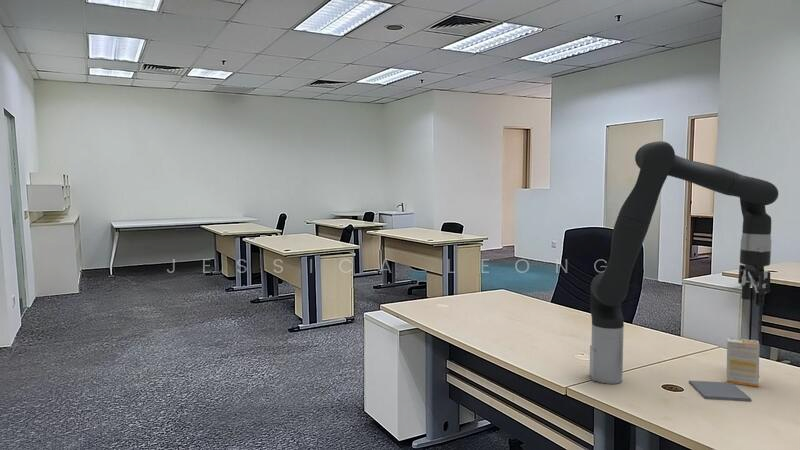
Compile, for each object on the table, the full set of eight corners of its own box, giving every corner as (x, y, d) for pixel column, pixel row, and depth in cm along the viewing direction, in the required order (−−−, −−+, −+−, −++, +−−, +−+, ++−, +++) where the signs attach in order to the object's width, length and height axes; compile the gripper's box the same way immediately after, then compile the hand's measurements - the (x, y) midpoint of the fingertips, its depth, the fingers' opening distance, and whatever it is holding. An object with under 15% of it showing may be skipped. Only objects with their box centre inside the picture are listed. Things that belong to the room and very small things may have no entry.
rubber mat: (704, 398, 148) (704, 396, 148) (689, 383, 160) (689, 380, 160) (751, 401, 146) (751, 398, 146) (731, 385, 158) (732, 382, 158)
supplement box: (757, 382, 160) (759, 340, 159) (758, 387, 156) (760, 344, 155) (726, 377, 164) (727, 336, 163) (725, 382, 160) (727, 340, 159)
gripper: (731, 245, 163) (728, 296, 164) (752, 251, 149) (749, 307, 150) (757, 246, 162) (754, 298, 163) (782, 252, 148) (778, 308, 149)
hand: (752, 302), depth 157 cm, fingers open, 8 cm apart
